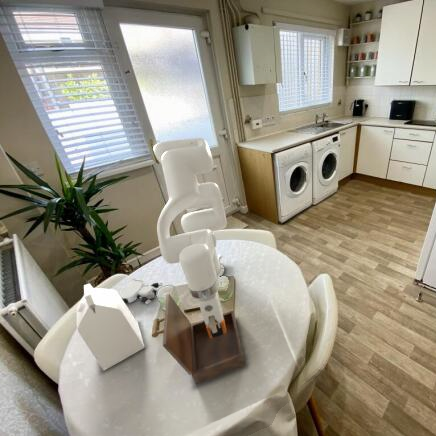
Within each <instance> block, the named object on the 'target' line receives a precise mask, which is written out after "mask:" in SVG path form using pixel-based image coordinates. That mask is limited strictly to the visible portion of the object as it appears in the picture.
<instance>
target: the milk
mask: <svg viewBox="0 0 436 436" xmlns="http://www.w3.org/2000/svg"><path fill="white" fill-rule="evenodd" d="M118 293H119V291H118V290H116V289H113V288H103V287H102V288H100V287H93V286H92V285H91V283H86V284H84V285H83V296H82V297H81V299H80V300H79V302H78V303H77V305H76V308H75V312H76V314H75V315H76V316H75V317H76V319H75V320H76V329H77V332H78V334H79V335H80V337H81V339H82V340H83V342H84V343H85V345H86V346H87V348H88V349H89V351H90V352H91V354H92V355H93V357H94V358H95V360H96V361H97V363H98V364H99V366H100V367H101V369H102V370H103V371H107V370H108V369H110V368H111V367H113V366H115V365H116V364H118V363H120V362H122V361H124V360H125V359H127V358H130V356H132V355H135V354H136V353H138V352H139V351H141V350H143V349H145V343H144V340H143V336H142V333H141V328H140V326H139V323H138V321H137V320H136V318H135V316H134V315H133V314H132V312H131V311H130V309H129V307H128V306H127V303H124V301H123V300H122V298H121V297H120V295H119V294H118Z"/></svg>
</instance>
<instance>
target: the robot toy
mask: <svg viewBox="0 0 436 436" xmlns="http://www.w3.org/2000/svg"><path fill="white" fill-rule="evenodd" d="M130 280H131V281H129V282H128V283H126V284H125V285H123V287H121V288H120V290H119V291H118V294H119V295H120V297H121V298H122V300H123V301H124V303H125V304H131V303H133V302H135V301H136V300H137V299H138V300H140V301H141V302H142V303H143V304H145V305H149V304H150V303H151V302H152V301H151V300H150V299H154V298H155V297H156V296H157V295H156V292H157V293H158V288H159V287H162V286H163V282H154V283H152V284H151V285H145V283H144V282H143V280H140V279H135V278H130Z"/></svg>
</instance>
